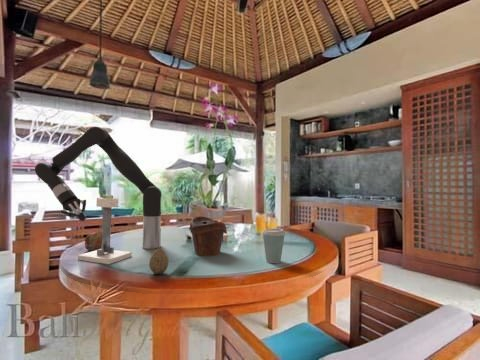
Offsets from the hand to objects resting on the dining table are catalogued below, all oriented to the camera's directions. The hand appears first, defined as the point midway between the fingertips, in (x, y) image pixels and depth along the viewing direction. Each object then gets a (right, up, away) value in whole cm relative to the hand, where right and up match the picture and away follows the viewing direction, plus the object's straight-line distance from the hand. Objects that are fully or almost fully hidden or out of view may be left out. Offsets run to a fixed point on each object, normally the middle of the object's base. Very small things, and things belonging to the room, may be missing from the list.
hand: (84, 220), depth 141 cm
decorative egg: (+47, -17, -31) cm, 58 cm away
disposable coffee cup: (+94, -18, -10) cm, 96 cm away
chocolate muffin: (+62, -17, +3) cm, 64 cm away
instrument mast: (+16, -14, -10) cm, 23 cm away
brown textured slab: (+1, -16, +8) cm, 18 cm away
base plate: (+16, -16, -10) cm, 24 cm away
